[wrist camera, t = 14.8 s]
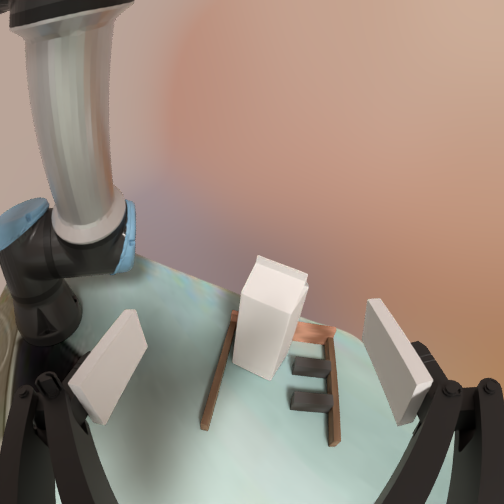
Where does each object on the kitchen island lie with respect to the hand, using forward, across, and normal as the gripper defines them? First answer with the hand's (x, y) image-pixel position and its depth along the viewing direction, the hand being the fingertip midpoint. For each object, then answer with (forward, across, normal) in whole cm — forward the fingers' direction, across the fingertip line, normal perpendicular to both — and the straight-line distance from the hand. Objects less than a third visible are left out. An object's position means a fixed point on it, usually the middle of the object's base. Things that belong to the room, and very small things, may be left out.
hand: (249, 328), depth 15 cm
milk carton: (+24, -2, -23) cm, 33 cm away
